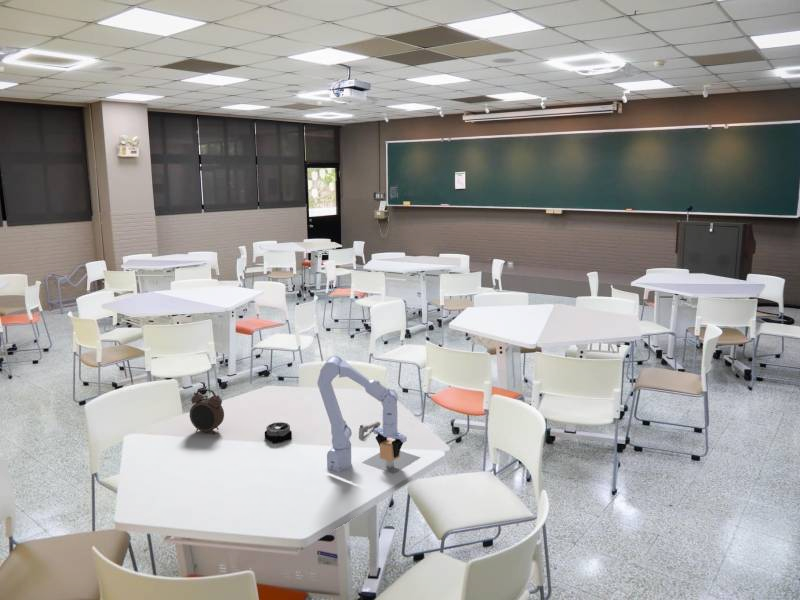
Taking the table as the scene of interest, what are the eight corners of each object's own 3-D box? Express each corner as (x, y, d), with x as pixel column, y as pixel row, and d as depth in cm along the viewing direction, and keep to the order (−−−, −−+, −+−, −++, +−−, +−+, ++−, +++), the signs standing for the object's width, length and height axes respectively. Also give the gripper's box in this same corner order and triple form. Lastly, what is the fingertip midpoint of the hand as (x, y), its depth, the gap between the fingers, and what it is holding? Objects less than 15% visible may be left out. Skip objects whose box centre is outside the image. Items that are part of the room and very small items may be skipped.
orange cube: (391, 461, 235) (391, 447, 233) (379, 458, 238) (379, 443, 237) (400, 456, 239) (400, 442, 238) (388, 453, 242) (388, 438, 241)
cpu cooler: (281, 420, 274) (294, 426, 267) (282, 432, 275) (294, 438, 268) (261, 426, 267) (274, 433, 259) (261, 438, 268) (274, 445, 261)
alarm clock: (188, 433, 272) (185, 390, 268) (197, 427, 279) (195, 385, 275) (218, 436, 269) (215, 393, 265) (226, 430, 276) (224, 388, 272)
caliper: (361, 440, 266) (361, 426, 265) (358, 440, 267) (358, 426, 265) (380, 423, 285) (380, 410, 284) (378, 423, 286) (378, 410, 284)
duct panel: (393, 476, 233) (393, 464, 232) (361, 464, 243) (361, 453, 242) (420, 459, 247) (420, 448, 246) (389, 449, 257) (389, 438, 256)
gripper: (411, 423, 235) (411, 456, 237) (381, 414, 243) (381, 446, 246) (400, 428, 229) (400, 462, 231) (370, 419, 237) (370, 452, 240)
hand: (389, 454), depth 238 cm, fingers closed on orange cube, 6 cm apart
